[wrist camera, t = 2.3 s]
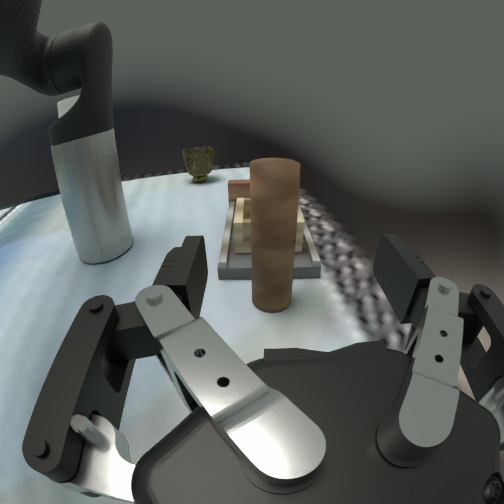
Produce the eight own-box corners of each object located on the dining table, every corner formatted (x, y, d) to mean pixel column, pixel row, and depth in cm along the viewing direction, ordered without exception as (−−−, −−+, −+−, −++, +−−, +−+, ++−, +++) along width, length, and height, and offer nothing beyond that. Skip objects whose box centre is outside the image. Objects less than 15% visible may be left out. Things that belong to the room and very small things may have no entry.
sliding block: (301, 252, 33) (304, 222, 31) (235, 253, 33) (233, 222, 31) (293, 223, 40) (294, 197, 38) (237, 223, 40) (236, 197, 38)
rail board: (319, 277, 32) (325, 235, 29) (218, 279, 32) (214, 236, 29) (296, 209, 49) (297, 179, 46) (230, 209, 49) (228, 180, 46)
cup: (218, 183, 62) (216, 149, 58) (186, 187, 60) (183, 153, 56) (213, 175, 68) (211, 144, 64) (184, 179, 66) (181, 148, 62)
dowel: (244, 301, 28) (239, 164, 21) (267, 282, 31) (269, 155, 24) (275, 318, 26) (281, 172, 19) (298, 296, 29) (309, 163, 21)
